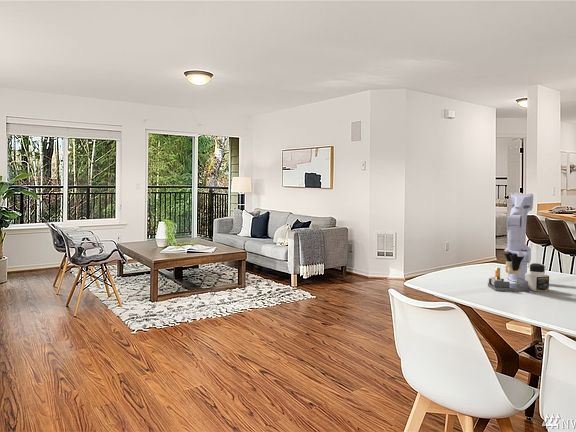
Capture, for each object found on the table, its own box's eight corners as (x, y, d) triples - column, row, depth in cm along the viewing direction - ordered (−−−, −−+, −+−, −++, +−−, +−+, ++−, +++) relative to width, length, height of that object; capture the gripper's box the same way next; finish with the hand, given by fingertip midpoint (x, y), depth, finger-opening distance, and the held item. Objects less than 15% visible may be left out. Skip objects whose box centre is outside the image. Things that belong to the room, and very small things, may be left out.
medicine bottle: (536, 291, 203) (537, 265, 202) (524, 288, 210) (525, 263, 209) (549, 290, 205) (550, 264, 204) (536, 287, 212) (537, 262, 211)
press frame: (487, 286, 214) (487, 276, 214) (519, 286, 213) (519, 277, 213) (495, 291, 204) (495, 281, 204) (528, 291, 203) (529, 281, 203)
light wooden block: (505, 272, 210) (505, 260, 210) (516, 272, 210) (517, 261, 209) (509, 273, 206) (509, 262, 206) (520, 273, 206) (520, 262, 205)
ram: (490, 283, 212) (491, 266, 211) (497, 283, 211) (497, 266, 211) (494, 285, 207) (495, 268, 206) (501, 286, 206) (502, 268, 206)
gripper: (499, 238, 214) (498, 266, 215) (511, 242, 200) (510, 272, 201) (514, 238, 214) (513, 266, 215) (528, 242, 199) (527, 272, 200)
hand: (513, 269), depth 208 cm, fingers closed on light wooden block, 4 cm apart
